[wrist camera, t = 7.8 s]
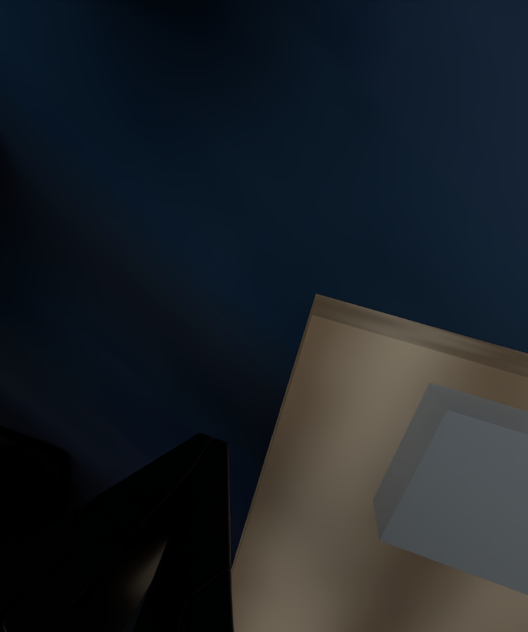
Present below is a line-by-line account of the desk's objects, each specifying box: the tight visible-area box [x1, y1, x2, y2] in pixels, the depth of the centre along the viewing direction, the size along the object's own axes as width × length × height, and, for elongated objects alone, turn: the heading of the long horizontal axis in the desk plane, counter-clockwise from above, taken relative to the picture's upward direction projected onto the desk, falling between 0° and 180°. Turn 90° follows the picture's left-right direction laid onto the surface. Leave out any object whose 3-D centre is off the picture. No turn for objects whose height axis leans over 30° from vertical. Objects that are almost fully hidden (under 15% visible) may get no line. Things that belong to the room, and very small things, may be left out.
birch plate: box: [231, 294, 528, 632], centre depth 13 cm, size 12×18×3 cm, turn 166°
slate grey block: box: [373, 382, 528, 595], centre depth 9 cm, size 5×5×2 cm
